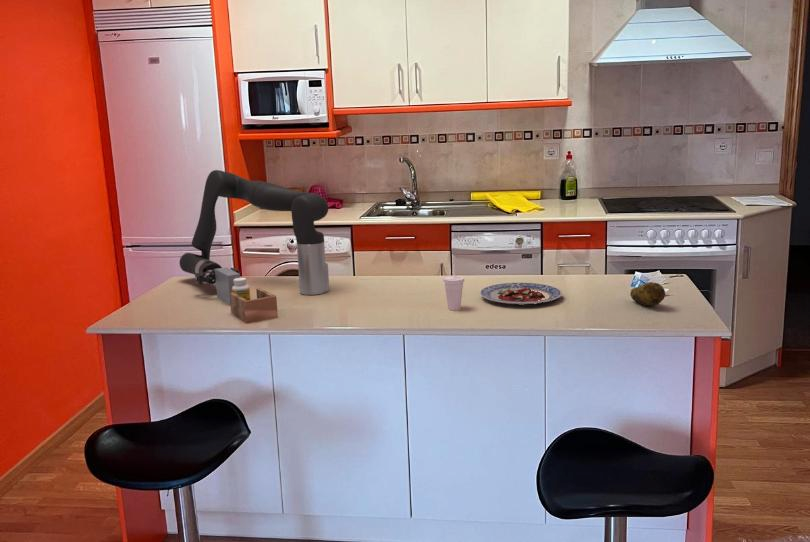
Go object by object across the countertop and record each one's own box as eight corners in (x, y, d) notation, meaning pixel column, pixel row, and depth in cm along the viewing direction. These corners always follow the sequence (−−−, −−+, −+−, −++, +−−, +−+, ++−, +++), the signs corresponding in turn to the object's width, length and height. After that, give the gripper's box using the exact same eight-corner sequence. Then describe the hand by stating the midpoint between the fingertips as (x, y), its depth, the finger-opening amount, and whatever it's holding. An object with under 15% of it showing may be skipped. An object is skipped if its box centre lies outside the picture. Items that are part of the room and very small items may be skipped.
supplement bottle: (247, 305, 240) (245, 276, 238) (253, 308, 236) (251, 279, 234) (231, 308, 238) (228, 278, 235) (237, 311, 233) (235, 281, 231)
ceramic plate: (577, 303, 231) (578, 294, 230) (503, 313, 222) (503, 304, 222) (536, 285, 255) (536, 277, 254) (467, 294, 246) (466, 285, 246)
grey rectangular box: (217, 297, 251) (214, 268, 249) (228, 296, 253) (226, 267, 251) (230, 306, 240) (227, 275, 238) (242, 303, 242) (239, 273, 240)
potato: (655, 300, 231) (657, 275, 229) (667, 312, 218) (668, 285, 216) (628, 300, 231) (629, 275, 230) (638, 312, 219) (639, 285, 217)
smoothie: (467, 306, 230) (466, 262, 227) (461, 312, 225) (461, 266, 221) (447, 305, 233) (446, 261, 229) (441, 310, 227) (440, 265, 224)
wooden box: (231, 313, 231) (229, 293, 230) (261, 307, 236) (259, 288, 235) (246, 323, 220) (244, 301, 219) (277, 317, 226) (276, 296, 224)
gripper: (187, 263, 257) (202, 271, 244) (227, 258, 265) (243, 265, 251) (189, 284, 259) (204, 293, 246) (229, 278, 266) (245, 287, 253)
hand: (224, 279), depth 248 cm, fingers open, 8 cm apart
